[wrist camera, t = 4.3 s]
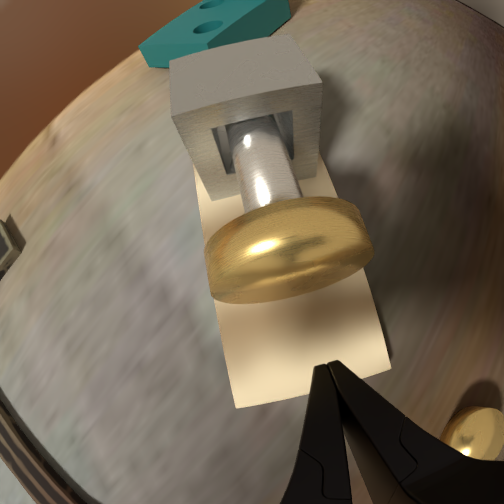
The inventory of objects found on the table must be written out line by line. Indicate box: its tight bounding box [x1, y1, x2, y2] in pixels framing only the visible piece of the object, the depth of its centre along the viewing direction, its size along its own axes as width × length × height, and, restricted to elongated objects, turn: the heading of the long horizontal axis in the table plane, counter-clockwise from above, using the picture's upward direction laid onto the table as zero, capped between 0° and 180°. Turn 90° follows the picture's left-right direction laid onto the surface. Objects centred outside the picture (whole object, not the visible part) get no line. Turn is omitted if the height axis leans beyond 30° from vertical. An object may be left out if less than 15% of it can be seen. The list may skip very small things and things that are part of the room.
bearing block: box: [169, 34, 323, 201], centre depth 19 cm, size 6×8×9 cm
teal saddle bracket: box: [138, 0, 291, 68], centre depth 28 cm, size 18×11×10 cm, turn 150°
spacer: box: [440, 406, 504, 460], centre depth 14 cm, size 5×5×2 cm
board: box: [193, 151, 391, 408], centre depth 21 cm, size 22×10×1 cm, turn 12°
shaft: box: [204, 114, 374, 304], centre depth 18 cm, size 17×8×8 cm, turn 12°
